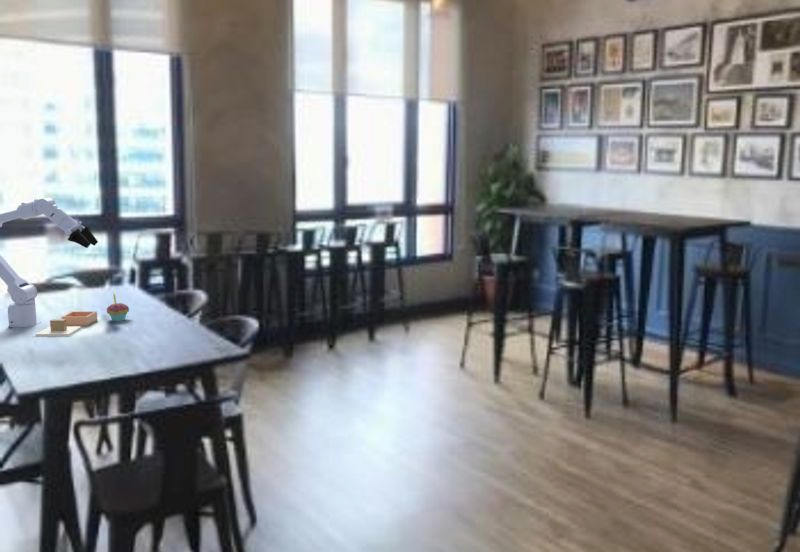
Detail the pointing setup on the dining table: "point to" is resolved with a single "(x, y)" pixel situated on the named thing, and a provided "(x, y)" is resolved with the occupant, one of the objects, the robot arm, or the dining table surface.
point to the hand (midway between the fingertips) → (92, 244)
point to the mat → (59, 336)
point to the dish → (80, 318)
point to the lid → (58, 329)
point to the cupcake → (117, 311)
